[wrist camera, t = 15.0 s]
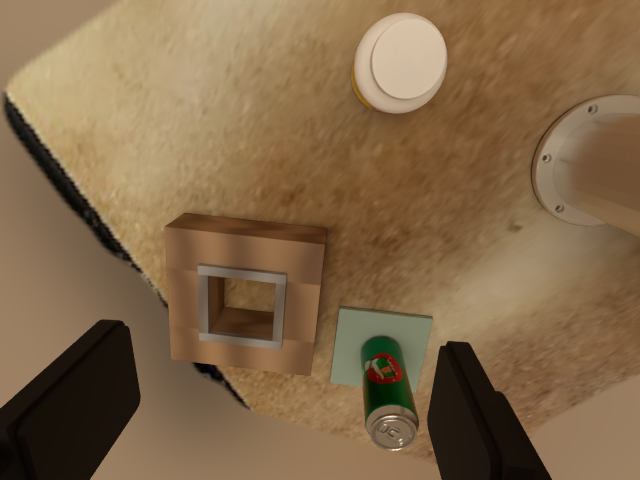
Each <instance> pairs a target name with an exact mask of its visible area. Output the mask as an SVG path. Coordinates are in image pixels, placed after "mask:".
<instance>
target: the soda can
mask: <svg viewBox="0 0 640 480" xmlns="http://www.w3.org/2000/svg"><path fill="white" fill-rule="evenodd" d="M360 358H361V372H362V386H363V400H364V414H365V426H366V430H367V432H368V434H369V435H370V437H371V439H372V441H373V442H374V444H375V445H377V446H378V447H380V448H382V449H384V450H389V451H398V450H403V449H405V448H407V447H409V446H410V445H411V444H413V442H414V441H415V439H416V436H417V430H418V427H419V420H418V415H417V411H416V407H415V403H414V399H413V395H412V391H411V386H410V382H409V378H408V374H407V370H406V366H405V362H404V357H403V353H402V350H401V348H400V346H399V345H398V344H397V343H396V342H395V341H393V340H391V339H388V338H375V339H372V340H370V341H369V342H367V343H366V344H365V345H364V346H363V348H362V350H361V353H360Z"/></svg>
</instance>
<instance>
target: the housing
mask: <svg viewBox="0 0 640 480" xmlns="http://www.w3.org/2000/svg"><path fill="white" fill-rule="evenodd" d="M164 230H165V249H166V267H167V286H168V304H169V323H170V341H171V359H172V360H181V361H189V362H197V363H206V364H214V365H222V366H231V367H239V368H248V369H256V370H264V371H273V372H281V373H289V374H298V375H306V376H311V370H312V361H313V353H314V344H315V335H316V326H317V317H318V308H319V298H320V289H321V280H322V271H323V262H324V252H325V243H326V234H327V229H325V228H316V227H307V226H298V225H289V224H280V223H271V222H262V221H253V220H244V219H235V218H226V217H217V216H208V215H199V214H189V213H184V214H182V215H181V216H180V217H178V218H177V219H175V220H174V221H172V222H171V223H169V224H168V225H166V226H165V227H164ZM224 277H225V278H234V279H243V280H252V281H261V282H269V283H276V290H275V307H274V313H270V312H262V311H253V310H245V309H236V308H227V307H224Z"/></svg>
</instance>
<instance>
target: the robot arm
mask: <svg viewBox="0 0 640 480" xmlns="http://www.w3.org/2000/svg"><path fill="white" fill-rule="evenodd" d="M588 109H589V111H588ZM543 156H545V158H544V159H543V160H542V158H543ZM532 184H533V187H534V191H535V194H536V196H537V198H538V200H539V202H540V203H541V204H542V206H543V207H544V208H545V209H546V210H547V211H548V212H550V213H551V214H552V215H554V216H555V217H557V218H559V219H561V220H563V221H565V222H568V223H571V224H574V225H581V226H598V225H604V224H608V223H609V224H611V225H613V226H615V227H618V228H620V229H622V230H624V231H627V232H629V233H631V234H633V235H636V236H638V237H640V97H637V96H632V95H609V96H601V97H597V98H594V99H590V100H588V101H585V102H583V103H581V104H579V105H577V106H575V107H574V108H572V109H571V110H569V111H568V112H566V113H565V114H563V115H562V116H561V117H560V118H559V119H558V120H557V121H556V122H555V123H554V124H553V125H552V126H551V127H550V129H549V130H548V131H547V133H546V134H545V135H544V137H543V139H542V140H541V142H540V144H539V146H538V148H537V151H536V154H535V157H534V160H533V166H532ZM556 207H557V208H556ZM140 398H141V397H140V390H139V383H138V378H137V372H136V365H135V359H134V353H133V347H132V342H131V335H130V330H129V328H128V326H125V324H124V323H123V321H120V320H100V321H98V322H97V323H96V324H95V325H94V326H93V327H92V328H90V329H89V330H88V331H87V332H86V333H85V334H84V335H83V336H81V337H80V338H79V339H78V340H77V341H76V342H75V343H73V344H72V345H71V346H70V347H69V348H68V349H67V350H66V351H64V352H63V353H62V354H61V355H60V356H59V357H58V358H57V359H55V360H54V361H53V362H52V363H51V364H50V365H49V366H48V367H47V368H46V369H44V370H43V371H42V372H41V373H40V374H39V375H37V376H36V377H35V378H34V379H33V380H32V381H31V382H30V383H29V384H27V385H26V386H25V387H24V388H23V389H22V390H21V391H20V392H18V393H17V394H16V395H15V396H14V397H13V398H12V399H11V400H9V401H8V402H7V403H6V404H5V405H4V406H3V407H2V408H0V480H90V479H91V477H92V476H93V474H94V472H95V471H96V469H97V468H98V467H99V465H100V464H101V462H102V460H103V459H104V458H105V456H106V455H107V453H108V452H109V450H110V449H111V447H112V446H113V444H114V443H115V441H116V440H117V438H118V437H119V435H120V434H121V432H122V431H123V429H124V428H125V426H126V425H127V423H128V422H129V420H130V419H131V417H132V416H133V414H134V413H135V412H136V410H137V408H138V406H139V403H140ZM427 422H428V430H429V434H430V438H431V441H432V445H433V449H434V453H435V456H436V460H437V464H438V467H439V471H440V475H441V479H442V480H552V479H551V477H550V475H549V473H548V472H547V470H546V468H545V466H544V464H543V463H542V461H541V459H540V457H539V456H538V454H537V452H536V450H535V448H534V447H533V445H532V443H531V441H530V440H529V438H528V436H527V434H526V432H525V431H524V429H523V427H522V425H521V424H520V422H519V420H518V418H517V416H516V415H515V413H514V411H513V409H512V408H511V406H510V404H509V402H508V400H507V399H506V397H505V396H504V394H503V393H501V392H500V391H495V390H494V388H493V386H492V384H491V382H490V381H489V379H488V377H487V375H486V373H485V371H484V369H483V368H482V366H481V364H480V362H479V360H478V358H477V356H476V355H475V353H474V351H473V349H472V347H471V345H470V344H469V343H468V342H455V341H448V342H447V344H446V346H441V347H440V350H439V355H438V360H437V366H436V372H435V377H434V383H433V389H432V394H431V400H430V406H429V411H428V418H427Z"/></svg>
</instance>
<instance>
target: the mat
mask: <svg viewBox="0 0 640 480" xmlns="http://www.w3.org/2000/svg"><path fill="white" fill-rule="evenodd" d="M432 321H433V318H432V317H431V316H423V315H414V314H405V313H397V312H388V311H379V310H370V309H362V308H353V307H344V306H340V308H339V315H338V323H337V330H336V338H335V346H334V353H333V361H332V368H331V376H330V383H334V384H343V385H351V386H359V387H363V386H362V372H361V358H360V353H361V350H362V348H363V346H364V345H365V344H366V343H367V342H369V341H370V340H372V339H375V338H388V339H391V340H393V341H395V342H396V343H397V344H398V345H399V346H400V348H401V350H402V353H403V357H404V362H405V366H406V370H407V374H408V378H409V382H410V386H411V391H412V393H416V389H417V385H418V381H419V376H420V372H421V368H422V364H423V359H424V355H425V351H426V347H427V342H428V338H429V334H430V330H431V325H432Z"/></svg>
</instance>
